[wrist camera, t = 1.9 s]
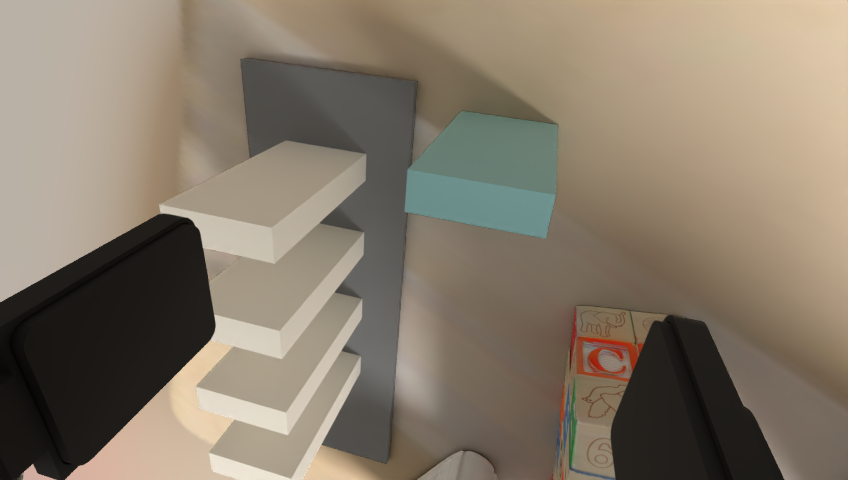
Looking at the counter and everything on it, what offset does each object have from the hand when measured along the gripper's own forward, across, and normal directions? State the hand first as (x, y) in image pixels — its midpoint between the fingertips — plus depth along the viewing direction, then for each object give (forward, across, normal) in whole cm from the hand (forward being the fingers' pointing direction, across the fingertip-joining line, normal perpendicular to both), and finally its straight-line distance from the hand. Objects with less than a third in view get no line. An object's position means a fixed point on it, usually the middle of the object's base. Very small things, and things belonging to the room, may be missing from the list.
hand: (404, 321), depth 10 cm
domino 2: (+17, +9, +8) cm, 21 cm away
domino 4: (+17, +9, +18) cm, 27 cm away
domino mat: (+17, +9, +13) cm, 24 cm away
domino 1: (+17, +9, +3) cm, 19 cm away
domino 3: (+17, +9, +13) cm, 23 cm away
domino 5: (+17, -1, 0) cm, 17 cm away
